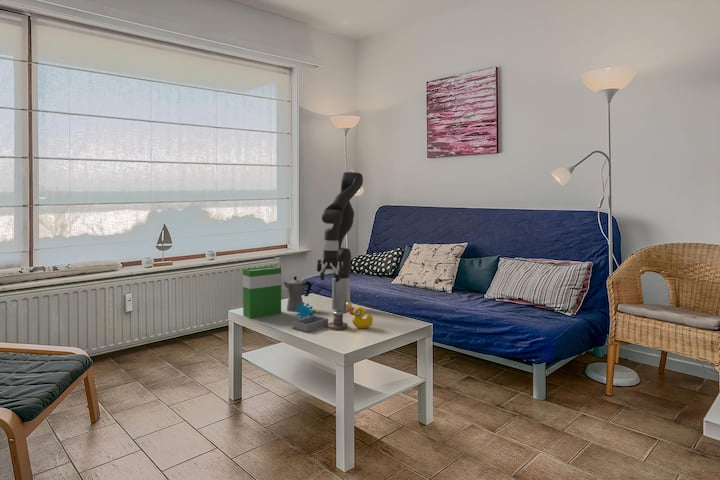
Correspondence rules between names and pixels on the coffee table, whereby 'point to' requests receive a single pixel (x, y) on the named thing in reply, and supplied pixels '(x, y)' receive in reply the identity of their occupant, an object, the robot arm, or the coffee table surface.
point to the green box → (261, 291)
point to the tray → (310, 323)
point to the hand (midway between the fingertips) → (329, 281)
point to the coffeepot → (296, 292)
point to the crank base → (337, 323)
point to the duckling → (358, 319)
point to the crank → (339, 313)
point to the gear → (304, 310)
